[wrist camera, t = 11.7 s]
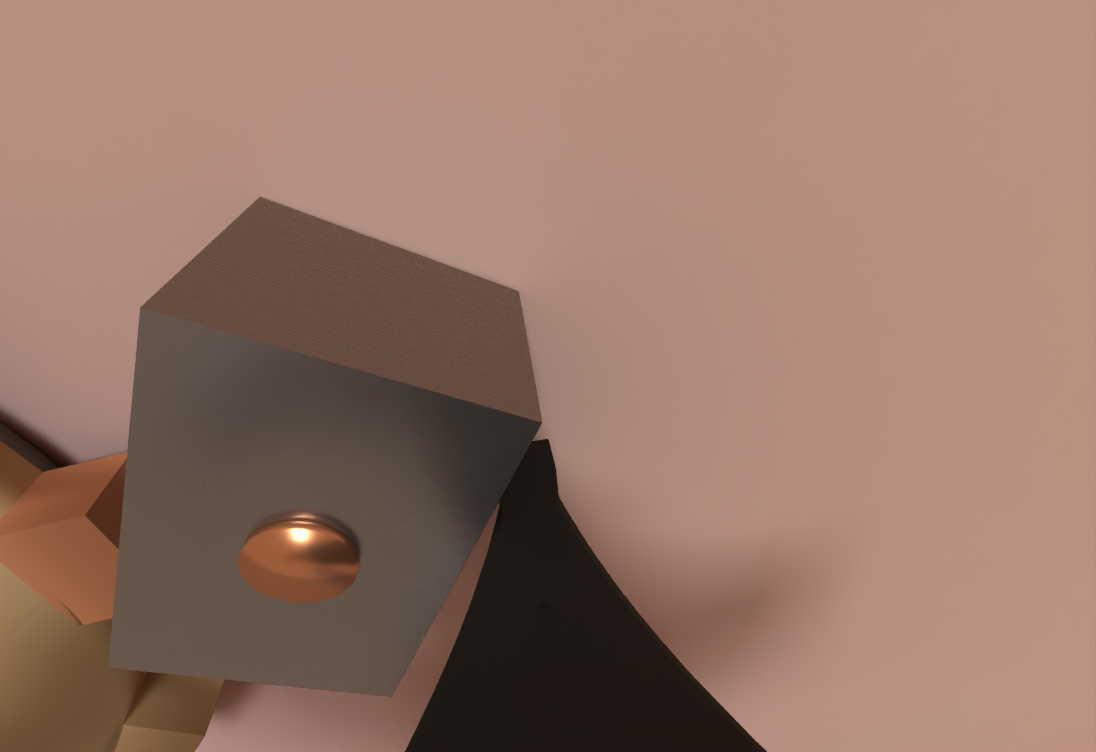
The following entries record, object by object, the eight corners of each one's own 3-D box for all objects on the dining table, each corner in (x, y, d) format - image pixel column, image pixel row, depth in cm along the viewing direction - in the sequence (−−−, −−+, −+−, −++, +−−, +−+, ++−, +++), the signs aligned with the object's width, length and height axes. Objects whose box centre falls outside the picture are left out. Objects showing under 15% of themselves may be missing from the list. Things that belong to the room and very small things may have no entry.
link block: (410, 529, 12) (390, 706, 9) (205, 487, 11) (102, 678, 8) (518, 291, 9) (544, 430, 6) (260, 196, 8) (131, 314, 5)
